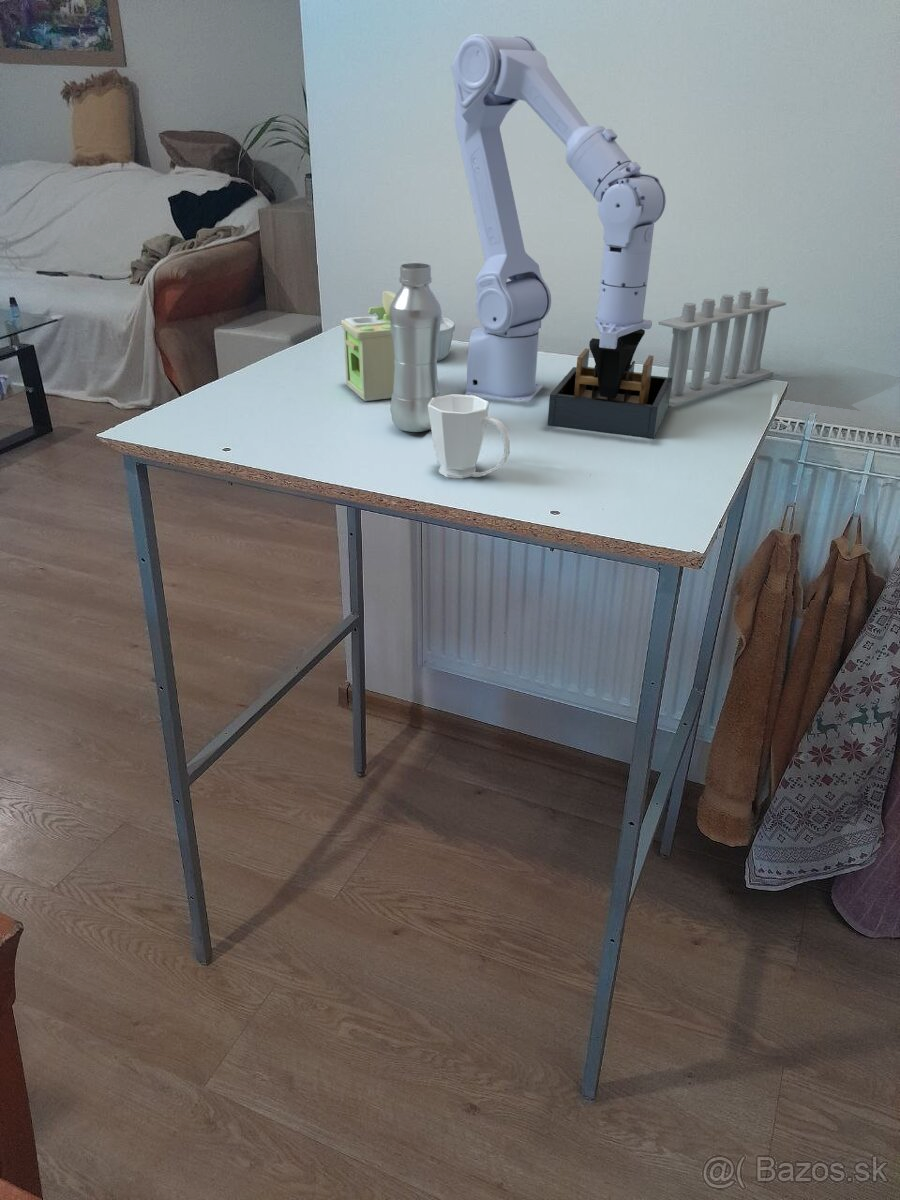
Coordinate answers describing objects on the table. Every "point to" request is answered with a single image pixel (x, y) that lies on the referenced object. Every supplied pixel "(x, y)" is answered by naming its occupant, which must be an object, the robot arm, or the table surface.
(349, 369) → the toy sink
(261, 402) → the table surface
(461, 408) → the cup
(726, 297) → the test tube rack
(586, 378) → the dish rack
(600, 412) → the dark grey open box
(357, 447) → the table surface
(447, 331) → the ramekin
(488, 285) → the robot arm
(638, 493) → the table surface
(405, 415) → the silver bottle
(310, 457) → the table surface
